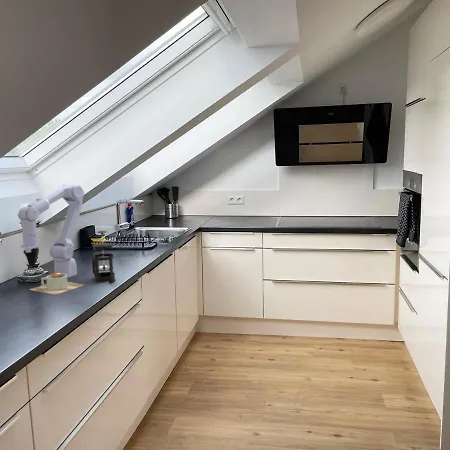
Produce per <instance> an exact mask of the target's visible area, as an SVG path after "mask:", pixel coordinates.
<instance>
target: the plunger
mask: <svg viewBox="0 0 450 450" xmlns="http://www.w3.org/2000/svg"><path fill="white" fill-rule="evenodd" d="M51 274H52V278H60V277H62V273H61V272H55V271H54V272H51Z"/></svg>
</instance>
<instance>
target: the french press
mask: <svg viewBox="0 0 450 450" xmlns="http://www.w3.org/2000/svg"><path fill="white" fill-rule="evenodd" d="M104 233H107V230H100V231H97V234H100V236H101V242H100V243H94V244H92V247H93V251H95V252H102V253H99V254H98V253H97V254H92V255H91V266H92V267H91V269H92V274H93V277H94V282H97V283H106V282H108V284H112V283H115V282H116V273H115V272H114V266H113V265H114V264H113V259H114V257H115V256H114V254H113V253H107V252H106V253H104V251H105V250H106V249H113V246H114V243H112V242H111V243H110V242H104ZM99 261H101V262H103V265H100V266H99ZM105 261H108V264H109V265H105Z"/></svg>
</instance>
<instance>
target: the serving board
mask: <svg viewBox="0 0 450 450" xmlns="http://www.w3.org/2000/svg"><path fill="white" fill-rule="evenodd" d="M67 283H68V287H67V288H65V289H61V290H48V289H47V286H46V287H42V285H40V286H38V287H33V288H30V289H29V291H34V292H40V293H43V294H44V293H45V294H48V295H55V296H56V295H58V294H62V293H65V292H68V291H71V290H75V289H77V288H80V287H83V286H85V284H82V283H76V282H71V281H67Z"/></svg>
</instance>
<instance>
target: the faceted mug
mask: <svg viewBox="0 0 450 450" xmlns="http://www.w3.org/2000/svg"><path fill="white" fill-rule="evenodd" d="M40 280H41V282H40V283H41V286H42V287H46V286H47V289H48V290H61V289H65V288H67V287H68V283H67V282H68V278H67V274H63V273H62V277H60V278H52V273H51V274H48V275H46V276H45V277H41V278H40ZM44 280H45V281H46V284H45V283H44Z"/></svg>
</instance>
